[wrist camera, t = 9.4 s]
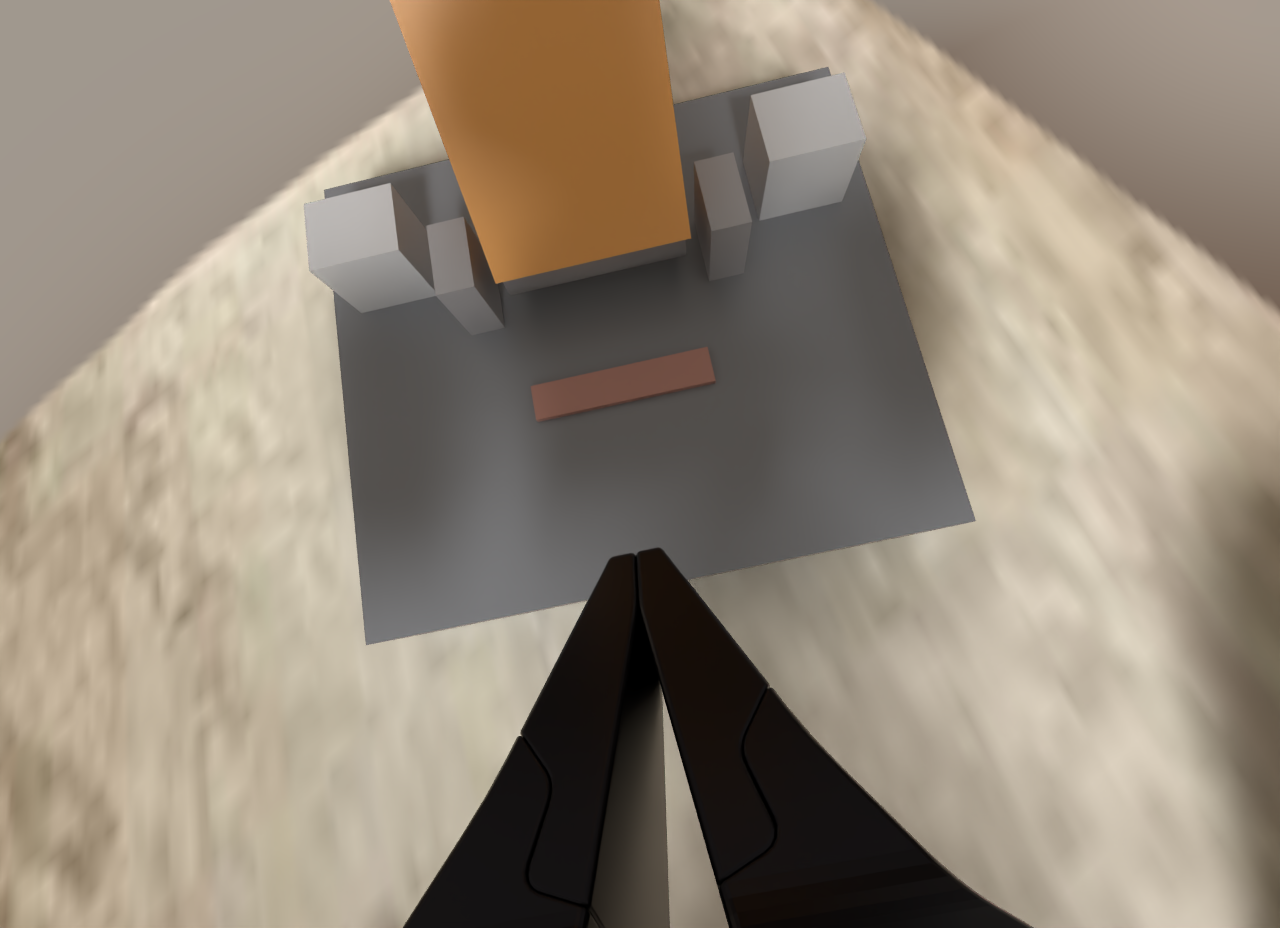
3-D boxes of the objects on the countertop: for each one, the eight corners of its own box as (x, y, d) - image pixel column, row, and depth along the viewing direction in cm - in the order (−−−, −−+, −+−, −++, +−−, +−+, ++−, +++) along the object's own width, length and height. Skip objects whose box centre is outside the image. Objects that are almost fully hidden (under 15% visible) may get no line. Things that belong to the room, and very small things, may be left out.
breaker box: (928, 531, 17) (1030, 509, 12) (418, 634, 18) (306, 656, 13) (809, 140, 20) (849, -14, 15) (375, 244, 21) (269, 132, 16)
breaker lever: (695, 269, 15) (609, -372, 8) (506, 312, 15) (285, -279, 9) (681, 237, 17) (601, -310, 10) (512, 276, 17) (333, -235, 11)
